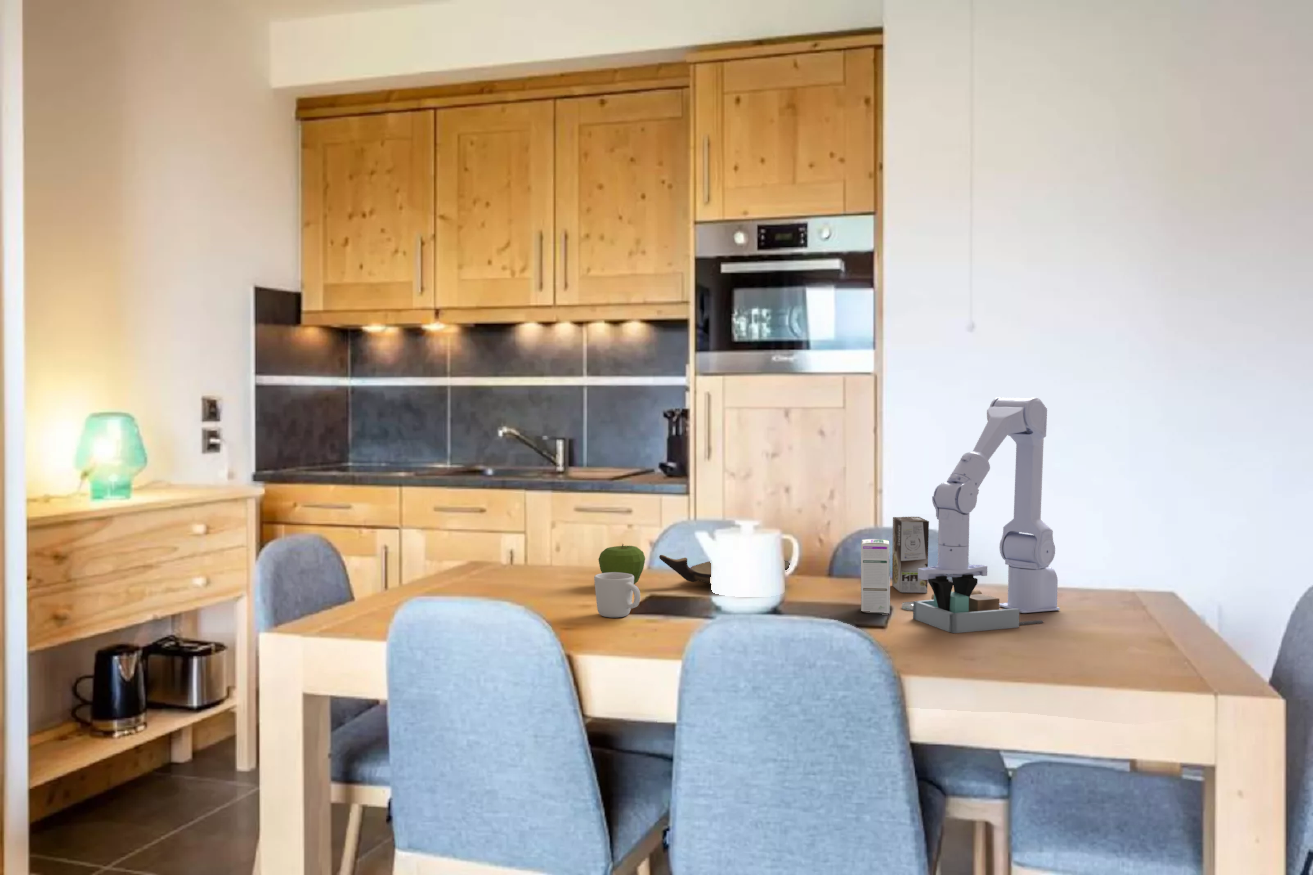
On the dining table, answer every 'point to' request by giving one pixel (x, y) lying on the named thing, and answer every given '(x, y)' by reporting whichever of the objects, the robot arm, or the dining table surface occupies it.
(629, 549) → the apple
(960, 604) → the green block
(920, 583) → the coffee box
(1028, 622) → the strips
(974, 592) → the dowel
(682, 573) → the oil lamp
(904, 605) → the washer
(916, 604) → the tray
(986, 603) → the cube
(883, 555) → the syrup box
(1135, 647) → the dining table surface
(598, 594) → the cup
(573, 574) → the dining table surface
